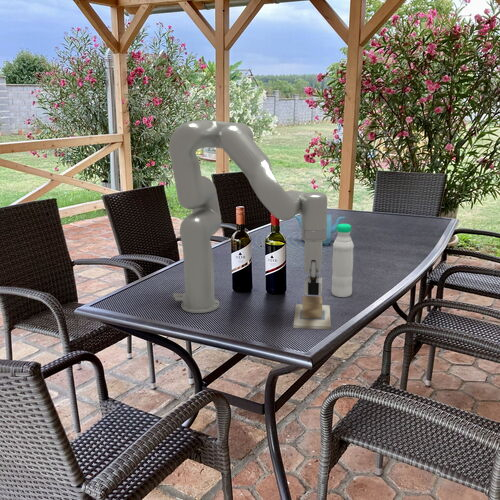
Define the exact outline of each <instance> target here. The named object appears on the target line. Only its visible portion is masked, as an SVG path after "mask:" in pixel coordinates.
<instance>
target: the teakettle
mask: <svg viewBox="0 0 500 500" xmlns="http://www.w3.org/2000/svg"><path fill="white" fill-rule="evenodd" d="M293 218H294V219H296V220H297V221H298V224H299V228H300V230H301V229H302V217H300V216H298V215H295V216H294V217H293ZM345 218H346V216H339V217H337V219H336V220H335V223H334V224H333V225H332V219H333V218H332V214H327V239H326V240H325V241H322V246H325V247H326V246H327V247H328V246H329V244H331V243H332V235H333V234H334V233H335V232H337V225H339V224H340V223H341V220H343V219H345Z"/></svg>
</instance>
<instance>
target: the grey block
mask: <svg viewBox="0 0 500 500" xmlns="http://www.w3.org/2000/svg"><path fill="white" fill-rule="evenodd" d="M308 282H309V277H308V276H306V277H305V280H304V290H303V291H304V295H303V296H309V295H308ZM318 282H319V294H318V295H317V296H322V292H323V277H319V278H318Z"/></svg>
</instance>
